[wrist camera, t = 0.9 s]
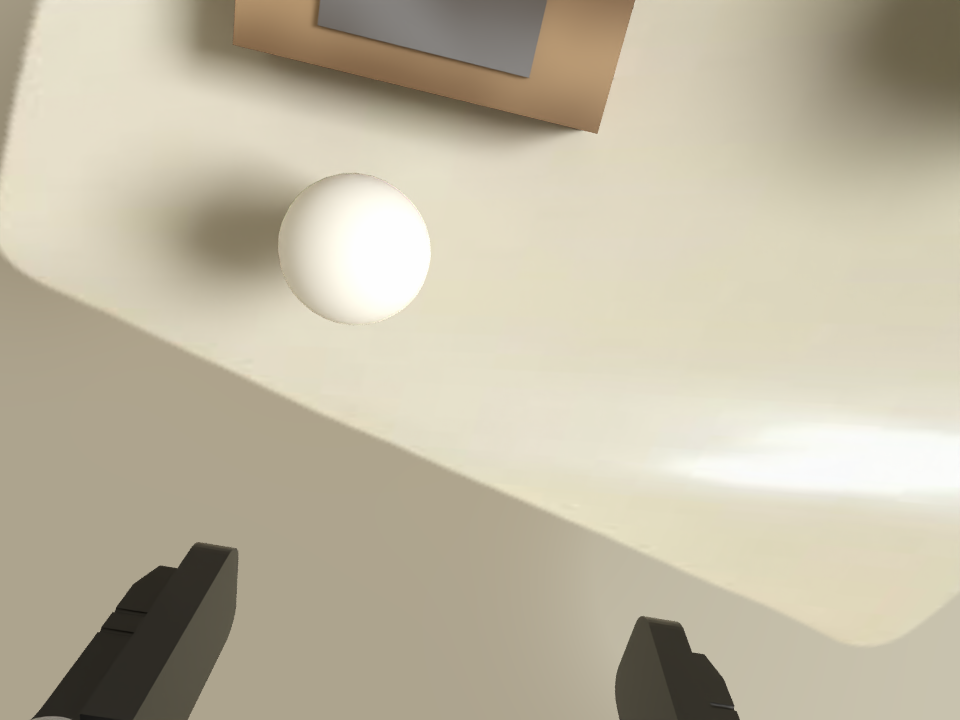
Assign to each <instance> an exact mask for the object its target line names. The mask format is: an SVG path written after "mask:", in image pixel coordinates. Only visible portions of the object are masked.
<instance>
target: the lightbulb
mask: <svg viewBox="0 0 960 720" xmlns="http://www.w3.org/2000/svg"><path fill="white" fill-rule="evenodd" d="M278 254H279V260H280V266H281V269H282V272H283V275H284V277H285V280H286V282H287V284H288V285H289V287H290V289H291V290H292V292H293V293H294V294H295V296H296V297H297V298H298V299H299V300H300V301H301V303H303V304H304V305H305V306H306V307H307V308H309V309H310V310H311V311H312V312H314V313H316V314H318V315H319V316H321V317H323V318H325V319H328V320H331V321H334V322H337V323H342V324H348V325H367V324H372V323H376V322H380V321H383V320H385V319H387V318H389V317H392V316H394V315H395V314H397V313H398V312H399V311H401V310H402V309H404V308H405V307H407V306H408V304H409V303H410V302H411V301H412V300H413V299H414V298H415V297H416V296H417V294H418V292H419V291H420V289H421V287H422V286H423V283H424V281H425V278H426V275H427V272H428V269H429V264H430V256H431V251H430V239H429V235H428V231H427V228H426V225H425V223H424V221H423V218H422V216H421V214H420V212H419V211H418V210H417V208H416V207H415V206H414V204H413V203H412V201H411V200H410V199H409V198H408V197H407V196H406V195H404V194H403V193H402V192H401V191H400V190H399V189H398V188H396V187H394V186H393V185H391V184H389V183H388V182H386V181H384V180H381V179H379V178H376V177H374V176H370V175H365V174H359V173H345V174H338V175H334V176H330V177H326V178H324V179H322V180H320V181H318V182H316V183H314V184H312V185H310V186H309V187H307V188H306V189H305V190H304V191H303V192H301V193H300V194H299V195H298V196H297V197H296V199H295V200H294V201H293V203H292V204H291V205H290V207H289V209H288V211H287V213H286V215H285V217H284V219H283V221H282V224H281V228H280V232H279V236H278Z"/></svg>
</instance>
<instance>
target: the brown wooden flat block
mask: <svg viewBox="0 0 960 720" xmlns="http://www.w3.org/2000/svg"><path fill="white" fill-rule="evenodd" d="M634 2H635V0H235V15H234V32H233V45H236V46H240V47H244V48H248V49H253V50H257V51H261V52H265V53H269V54H273V55H277V56H281V57H285V58H289V59H293V60H298V61H302V62H306V63H310V64H314V65H318V66H322V67H326V68H330V69H334V70H338V71H342V72H347V73H351V74H355V75H359V76H363V77H367V78H371V79H375V80H379V81H383V82H387V83H392V84H396V85H400V86H404V87H408V88H412V89H416V90H420V91H424V92H428V93H432V94H437V95H441V96H445V97H449V98H453V99H457V100H461V101H465V102H469V103H473V104H477V105H482V106H486V107H490V108H494V109H498V110H502V111H506V112H510V113H514V114H518V115H522V116H526V117H531V118H535V119H539V120H543V121H547V122H551V123H555V124H559V125H563V126H567V127H571V128H576V129H580V130H584V131H588V132H592V133H596V134H597V133H598V129H599V126H600V122H601V119H602V115H603V112H604V108H605V105H606V101H607V98H608V94H609V90H610V87H611V83H612V80H613V76H614V73H615V69H616V66H617V62H618V59H619V55H620V52H621V48H622V44H623V41H624V37H625V34H626V30H627V27H628V23H629V20H630V16H631V13H632V9H633V6H634Z"/></svg>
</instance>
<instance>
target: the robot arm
mask: <svg viewBox="0 0 960 720" xmlns="http://www.w3.org/2000/svg"><path fill="white" fill-rule="evenodd" d="M237 573H238V551H237V549H236V548H231V547H225V546H219V545H213V544H207V543H200V542H198V543H195V544H194V545H193V546H192V548H191V549H190V551H189V552H188V554H187V555H186V557H185V558H184V559H183V561H182V562H181V564H180V566H179V567H178V568H172V567H166V566H158V567H157V568H156V569H154V570H153V571H151V572H150V573H149V574H147V575H146V576H144V577H143V578H141V579H140V580H139V581H137V582H136V583H134V584H133V585H132V587H131V588H130V590H129V591H128V592H127V594H126V595H125V597H124V598H123V599H122V600H121V602H120V603H119V604H118V606H117V607H116V610H115V612H113V613H112V614H111V615H110V616H109V618H108V619H107V621H106V622H105V623H104V625H103V626H102V628H101V631H100V632H98V633H97V634H96V635H95V637H94V638H93V640H92V641H91V642H90V643H89V645H88V646H87V648H86V649H85V650H84V652H83V653H82V654H81V656H80V657H79V658H78V660H77V661H76V662H75V664H74V665H73V666H72V668H71V669H70V670H69V672H68V673H67V674H66V676H65V677H64V678H63V680H62V681H61V683H60V684H59V685H58V687H57V688H56V689H55V691H54V692H53V693H52V695H51V696H50V697H49V699H48V700H47V701H46V703H45V704H44V705H43V707H42V708H41V709H40V710H39V712H38V713H37V714H36V715H35V716H34V717H33V718H32V719H31V720H188V718H189V715H190V714H191V711H192V709H193V708H194V705H195V703H196V701H197V699H198V697H199V695H200V693H201V691H202V689H203V687H204V685H205V683H206V681H207V679H208V677H209V675H210V673H211V671H212V669H213V667H214V665H215V663H216V661H217V659H218V657H219V655H220V652H221V651H222V648H223V647H224V644H225V642H226V640H227V638H228V635H229V633H230V630H231V627H232V623H233V620H234V615H235V609H236V594H237ZM615 684H616V685H615V696H616V704H617V709H618V714H619V719H620V720H740V719H739V716H738V714H737V711H734V704H733V701H732V699H731V696H730V694H729V692H728V689H727V686H726V684H725V681H724V679H723V678H722V676H721V675H720V674H719V673H718V671H717V670H716V669H715V668H714V666H713V665H712V664H711V663H710V661H709V660H708V659H707V657H706V656H705V655H704V654H698V653H692V651H691V648H690V646H689V643H688V640H687V637H686V635H685V632H684V629H683V627H682V626H681V624H680V623H678V622H675V621H669V620H662V619H657V618H651V617H645V616H641V617H640V618H639V619H638V620H637V622H636V624H635V627H634V629H633V632H632V634H631V637H630V639H629V642H628V644H627V647H626V650H625V652H624V655H623V657H622V660H621V662H620V665H619V667H618V671H617V675H616V683H615Z"/></svg>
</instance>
